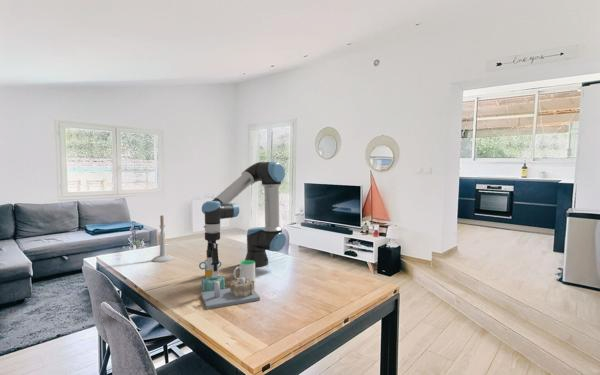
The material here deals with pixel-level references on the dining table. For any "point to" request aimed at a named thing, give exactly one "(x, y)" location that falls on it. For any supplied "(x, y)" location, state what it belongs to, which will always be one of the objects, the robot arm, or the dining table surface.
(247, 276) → the mug
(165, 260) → the candlestick
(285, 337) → the dining table surface
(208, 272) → the orange post with rings
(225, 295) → the gear board
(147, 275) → the dining table surface
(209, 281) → the gear
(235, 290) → the gear
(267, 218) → the robot arm
